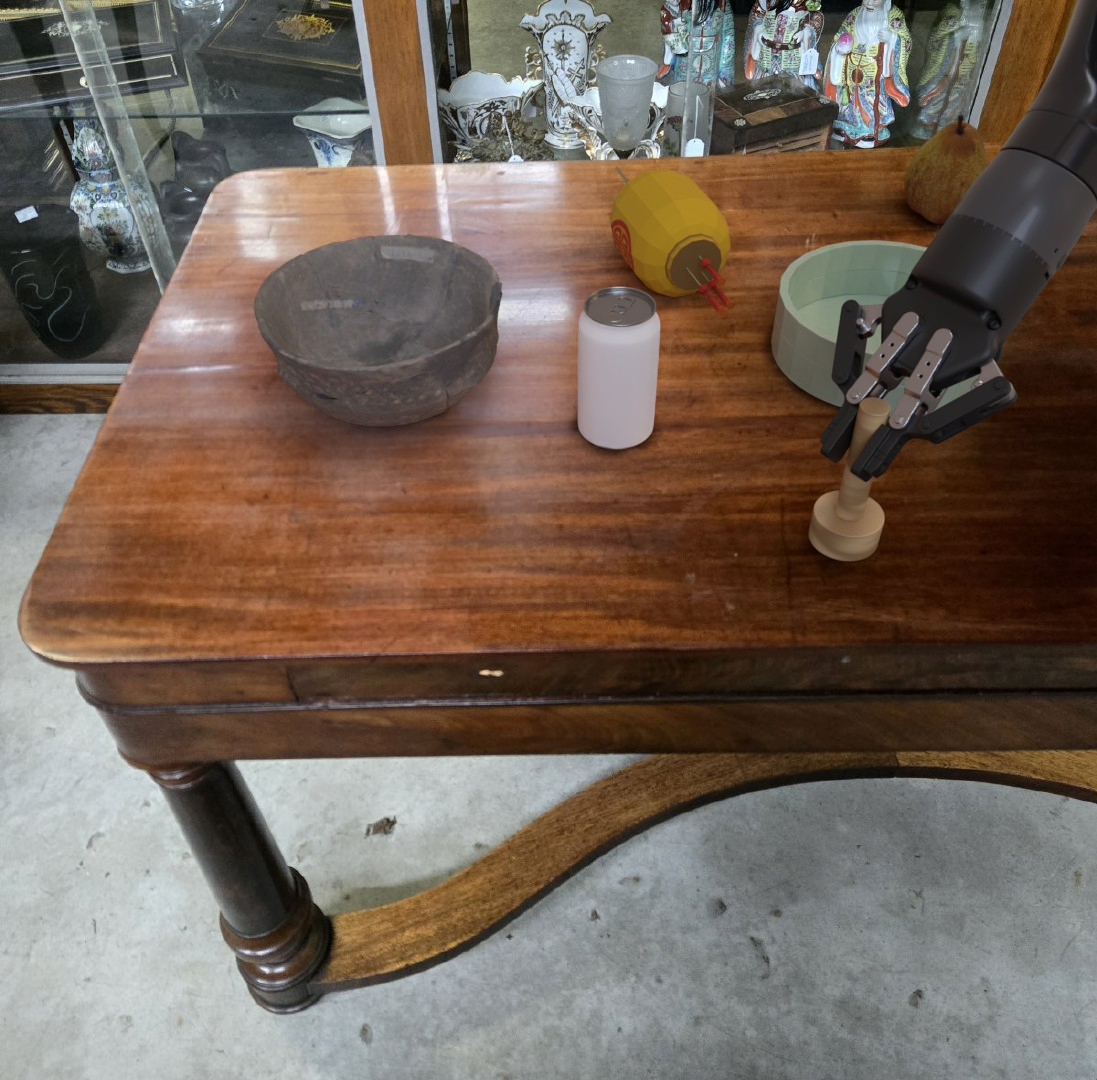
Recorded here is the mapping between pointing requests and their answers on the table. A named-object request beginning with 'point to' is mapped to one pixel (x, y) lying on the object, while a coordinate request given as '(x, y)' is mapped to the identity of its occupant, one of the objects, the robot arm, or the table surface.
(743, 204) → the table surface
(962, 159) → the fruit
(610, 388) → the can
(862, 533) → the wooden stamp
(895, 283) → the mixing bowl
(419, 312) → the bowl
